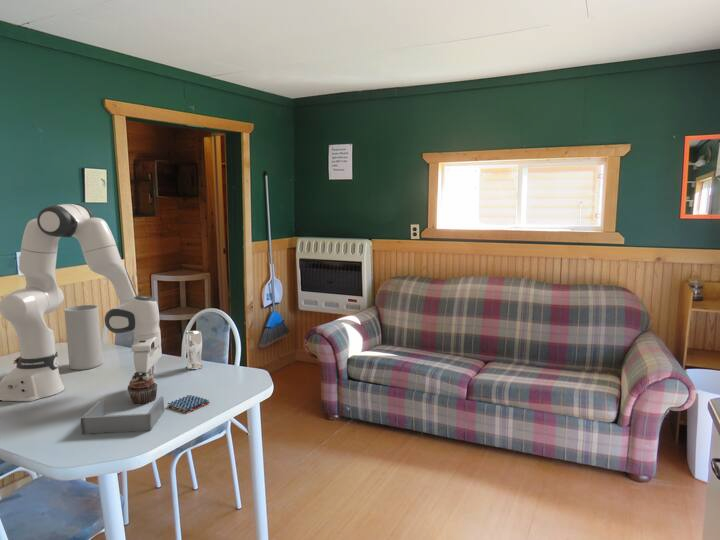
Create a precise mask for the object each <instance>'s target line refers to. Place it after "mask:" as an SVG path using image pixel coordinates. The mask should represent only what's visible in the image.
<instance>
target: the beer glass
mask: <svg viewBox="0 0 720 540" xmlns="http://www.w3.org/2000/svg"><path fill="white" fill-rule="evenodd" d="M183 338H184V339H183V341H184V348H185V349H184V350H185V353H186V354H185V355H186V358H187V366H186V368H188V369H187V370H189V369H196V370H200V369H203V363H202V350H203V337H202V331H201V330H188V331H184V337H183ZM199 368H200V369H199Z"/></svg>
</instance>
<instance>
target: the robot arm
mask: <svg viewBox="0 0 720 540" xmlns="http://www.w3.org/2000/svg"><path fill="white" fill-rule="evenodd" d="M71 237H73V238H75V239H76V240H77V241H78V243H79V245H80V248H81V252H82V255H83V257H84V261H85V263H86V264H87V266H88V269H89V270H91V272H93V273H95V274H98V275H101V276H103V277H105V278H106V279H107V280H108V281H110V282H111V284H112V285H113V286H112V287H113V288H114V291H115V294H116V295H117V298H118V302H119V305H117V306H114V307H113V308H111V309H109V310H108V311H107V312H106V314H105V315H104V324H105V327H106V328H107V330H109V332H111V333H113V334H124V333H128V332H133V337H134V338H133V343H132V345H131V352H133V365H134V369H135V373H136V372H137V373H147V374H148V375H150V377H152V378H153V377H154V376H155V367H156V363H157V362H158V361H159V360H161V358H162V352H163V351H162V345H161V344H162V337H161V334H162V333H161V328H160V326H159V324H160V312H159V306H158V302H157V300H156V298H154V297H153V296H149V295H138V294H137V292H136V290H135V287H134V284H133V282H132V279H131V278H130V275H129V273H128V271H127V268H126V267H125V264H124V263H123V261H122V258H121V254H120V252H119V249H118V247H117V246H118V245H117V243H116V240H115V238H114V236H113V232H112V231H111V228H110V227H109V225H108V223H107V222H106V220H105V219H103V218H102V217H101V218H100V217H94V215H93V213H92V211H91V210H90V209H89V208H88V207H86V206H85V205H83V204H79V203H77V204H76V203H74V204H73V203H62V204H56V205H55V204H54V205H53V204H52V205H49V206H46V207H44V208H42V209H41V211H40V212H39V213H38V214H37V217H36V218H33V219H30V220H29V221H28V222H27V223H26V226H25V228H24V231H23V236H22V240H21V244H20V254H19V266H18V269H19V272H20V273H21V274H22V275H23V276H24V278H25V288H21V289H17V290H14V291H12V292H11V293H9V294H7V295H5V296H4V297H3V298H2V299H1V300H0V314H1V317H2V318H4V319H5V320H6V321H9V323H11V325H12V326H13V329H14V330H15V332H16V335H17V339H18V344H19V347H18V348H19V353H20V356H19V357H17V358H16V359H14V360H13V361H12V362H13V363H12V364H13V365H14V364H15V368H13V369H12V370H11V371H10V372H8V374H6V375H5V376H4V377H3V378H2V379H1V380H0V400H2V402H4V401H5V402H33V401H35V400H36V401H37V400H38V399H43V398H47V397H50V396H53V395H57V394H59V393H61V392H63V391H64V390H65V386H64V383H63V380H62V379H61V375H60V370H59V357H58V352H57V350H56V337H55V331H54V330H53V329H52V328H50V327H49V326H48V325H47V323H46V321H45V318H44V317H45V315H47V314H51V313H53V312H54V311H57V309H58V308H59V307H61V306H62V305H63V303H64V299H65V297H64V293H63V291H62V289H61V288H60V287H59V286H58V283H57V276H56V275H57V274H56V268H57V267H56V266H57V257H58V249H59V241H60V239H62V238H69V239H70V238H71Z"/></svg>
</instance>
